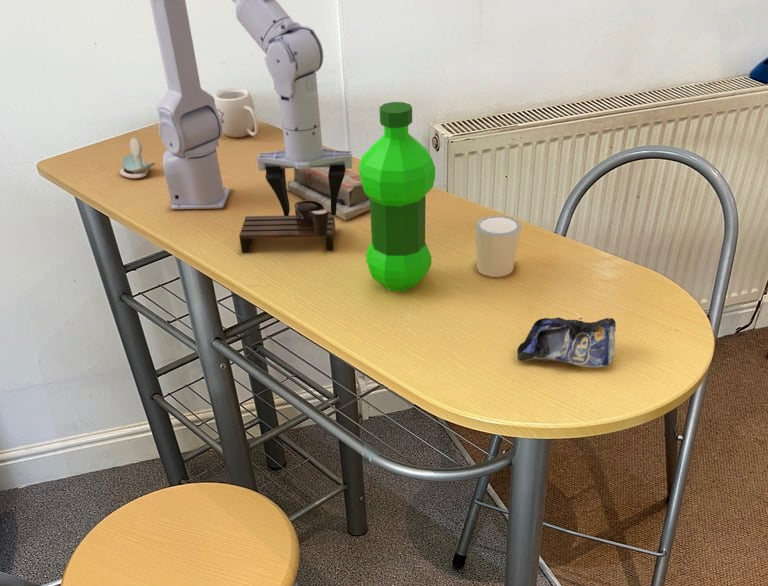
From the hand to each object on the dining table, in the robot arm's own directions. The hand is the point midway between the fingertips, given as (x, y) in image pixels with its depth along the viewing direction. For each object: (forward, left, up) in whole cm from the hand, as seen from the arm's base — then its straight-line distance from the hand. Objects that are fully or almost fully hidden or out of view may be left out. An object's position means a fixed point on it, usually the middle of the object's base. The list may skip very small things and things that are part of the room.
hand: (310, 212), depth 124 cm
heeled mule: (0, 0, -2) cm, 2 cm away
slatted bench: (-4, 0, -5) cm, 6 cm away
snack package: (+37, -34, -5) cm, 50 cm away
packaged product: (+3, +17, -5) cm, 18 cm away
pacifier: (-37, +30, -5) cm, 48 cm away
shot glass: (+30, -10, -5) cm, 32 cm away
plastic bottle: (+15, -14, -5) cm, 21 cm away
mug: (-19, +49, -5) cm, 53 cm away
